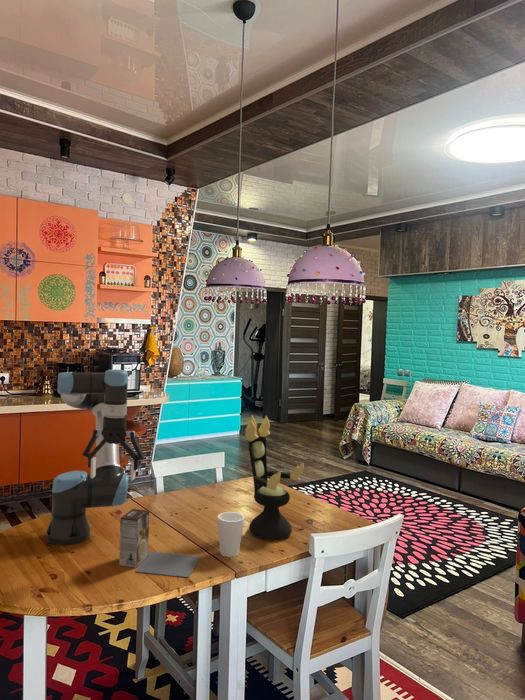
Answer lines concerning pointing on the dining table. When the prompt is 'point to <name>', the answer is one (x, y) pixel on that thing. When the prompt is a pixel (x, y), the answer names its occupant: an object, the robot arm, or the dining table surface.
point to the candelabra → (268, 486)
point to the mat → (169, 564)
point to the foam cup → (230, 532)
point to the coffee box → (134, 537)
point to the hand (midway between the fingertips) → (112, 478)
